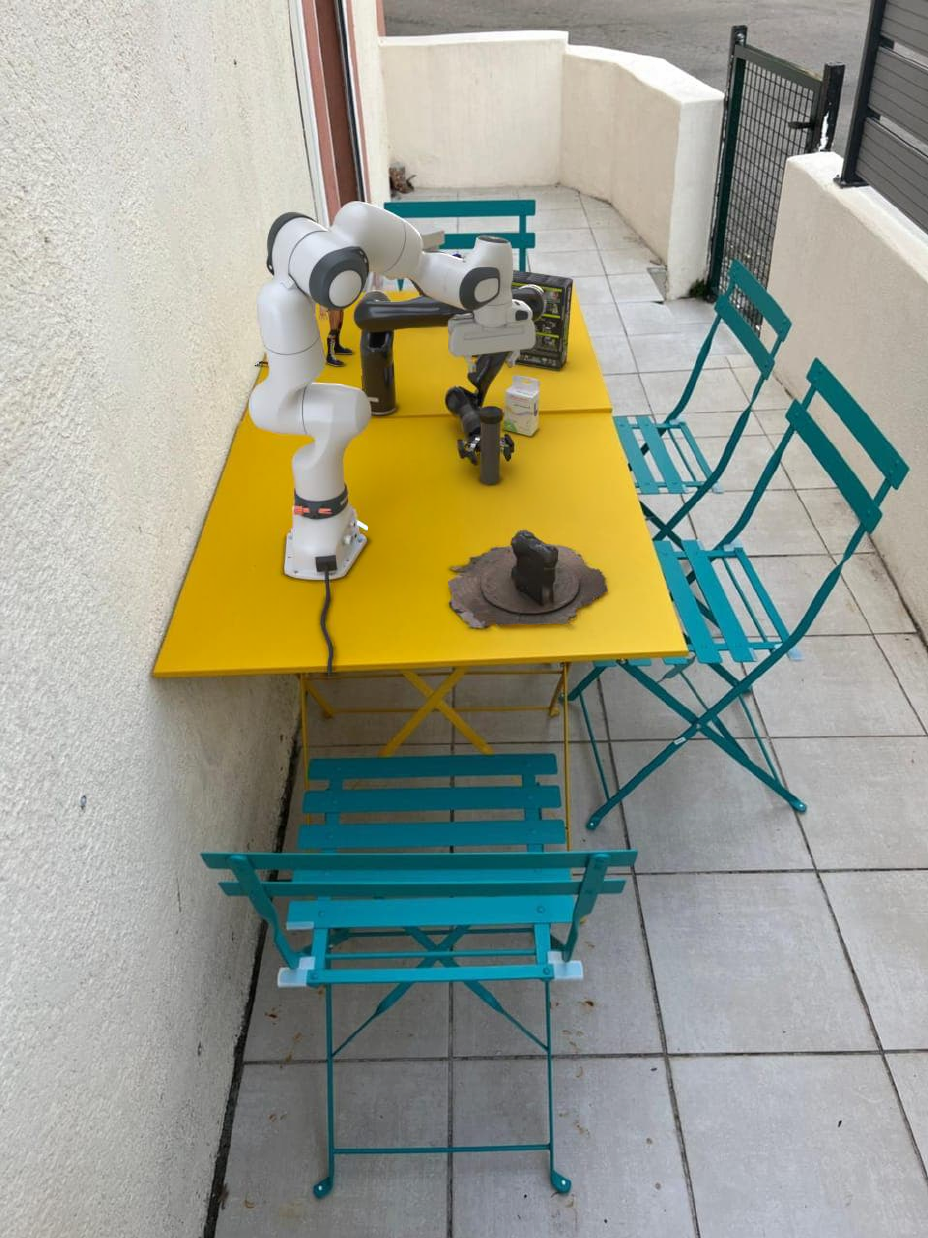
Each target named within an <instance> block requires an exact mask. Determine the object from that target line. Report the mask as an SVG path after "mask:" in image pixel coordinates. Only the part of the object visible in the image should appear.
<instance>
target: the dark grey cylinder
mask: <svg viewBox="0 0 928 1238" xmlns="http://www.w3.org/2000/svg"><path fill="white" fill-rule="evenodd" d="M501 426H502V421H501V422H499V423H497V424H485V423H483V422H481V453H480V482H481V483H482V484H483V485H486V486H494V485H497V484H498V483H499V482H500V475H501V474H500V472H501V453H500V437H501V433H502V432H501V431H502V430H501V429H502V428H501Z"/></svg>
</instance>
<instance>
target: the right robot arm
mask: <svg viewBox="0 0 928 1238" xmlns="http://www.w3.org/2000/svg"><path fill="white" fill-rule="evenodd" d="M511 293H512V299H514V300H519V301H523V302H524V303H525V304H527V305H528V306H529V308H530V309H531V311H532V313H533V315H532V319H531V320H532V321H533V323H534V322H536V321H537V320H538V319H540V318H541V316H542V315H543V314H544V312H545V310H546V306H547V299H546V295H545V293H544V291H543V290H542V289H541V288H540V287H538V286H536V285H525V286H522V287H521V288H519V289H515V290H511ZM469 313H473V311H469V310H464V309H461V308H458V307H455V306H452V305H450V304H447V303H444V302H441V301H438V300H435V299H431V298H427V297H424V296H422V295H421V296H415V297H412V298H410V299H406V300H400V301H399V300H398V301H391V298H390V297H389V296H388V295H387V294H386V293H385V292H384V291H381V290H378V289H372V290H369V291H367V292H365V293H364V294H362V296H361V298H360V299H359V301H358V303H357V304H356V305H355V307H354V309H353V314H352V317H353V322H354V324H355V326H356V327H357V328H358V329H359V330H361V331H360V332H361V333H360V339H359V354H360V355H359V356H360V365H361V376H360V379H361V380H360V381H361V389H362V390H363V391H364V393H365V394H366V395H367V397H368V399H369V401H370V405H371V416H386V415H387V416H388V415H391V414H393V413H394V412H396V411H397V408H398V403H397V390H396V389H397V388H396V375H395V374H396V373H395V359H394V340H395V331H399V330H406V329H434V328H448V321H449V320H450V319H451V318H452V317H454V316H455V315H463V314H469ZM453 320H454V319H453ZM511 352H512V351H505V352H496V353H487V354H480V355H479V356H477V358H476V359H475V361H473V363H475V365H476V372H473V373H470V372H469V371H468V372H467V374H466V378H467V380H468V381H469V383H470V384H471V385H472V386H474V387H475V390H474V392H472V391H471V390H469V389H467V388H465V387H463V386H462V385H454V386H451V387H450V388H448V389H447V390H446V393H445V396H444V405H445V408H446V409H447V411H448V412H449V413H450V414H451V416H452V417H454V418H455V419H456V420H457V421H458V423H459V426H460V428H461V432H462V435H463V436H464V439H465V440H464V441H463V439H461V438H458V439H457V440H456V449H457V452H458V456H459V459H461V460H464V459H466V458H467V459H468V461H469V462H470V464H471V465H473V466H474V467H475V466H478V457H477V455H479V453H480V454H481V421H480V420H479V410H480V409H481V408H483V407H484V402H485V400H486V397H487V394H488V392H489V389H490V387H491V385H492V383H493V382H494V380H496V378H497V376H498V374H500V371H501V370H502V368H503V367H504V365H505V364H506V363H507V361H506V360H507V358H508V357H509V355H510V353H511ZM258 362H259V364H257V366H259V365H267V366H269V365H268V361H263V360H260V361H258ZM515 444H516V443H515V441H514V440H513V438H512V437H511V435H509V434H508V433H504V434H503V436H500V455H501V454H502V455H503V457H504V459H505V461H506V462H511V460H512V454H514V453H515ZM466 447H467V449H466Z"/></svg>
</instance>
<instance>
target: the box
mask: <svg viewBox="0 0 928 1238" xmlns="http://www.w3.org/2000/svg"><path fill="white" fill-rule="evenodd" d="M525 285H536V286H538V287H540V288H541V289H542V290H543V291H544V293H545V295H546V299H547V306H546V310H545V312H544V314H543V315H542V316H541V318H540V319H538V320H537V321H536V322H534V325H535V335H536V341H535V345H534V346H533V347H532V348H530V349H522V350H520V354H519V356H518V358H517V359H516V361H515V364H517V365H525V366H531V367H538V368H544V369H547V370H554V371H560V370H561V369H562V367H563V366H564V365H565V363H566V362H567V360H568V359H567V358H568V346H569V345H568V344H569V336H570V335H569V334H570V323H571V322H570V321H571V309H572V308H571V307H572V299H573V285H574V278H570V277H566V276H559V275H552V274H547V273H545V274H544V273H540V272H539V273H538V272H532V271H525V270H517V269H513V281H512V284H511V290H515V289H519V288H521V287H522V286H525ZM512 353H513V352H511V353H510V355H509V357H508V358H507V359H509V358H510V357H511V355H512ZM479 355H480V354H479ZM479 355H472V357H478V356H479ZM506 362H507V360H506Z"/></svg>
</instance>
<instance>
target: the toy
mask: <svg viewBox="0 0 928 1238" xmlns="http://www.w3.org/2000/svg"><path fill="white" fill-rule="evenodd" d="M414 228H415V229H416V230H417V231H418V232H419V234H420V236H421V239H422V251H425V250H433V249H434V250H439V251H440V246H441V245H444V244H445V240H446V239H445V230H444V229H442V228H439V227H437V226H434V225H431V224H430V223H429V224H425V225H421V226H417V227H414ZM470 253H471V252H468V251H466V252H462V253H460V254H459V253H454V254H450V255H451V256H454V257H457V258H461V259H464V258H465V257H467V256H468V255H469V254H470ZM384 277H385V276H384ZM385 279H386V280H388V281H395V280H396V279H394V278H389V277H385ZM418 294H419V296H421V294H420V293H419V292H418Z"/></svg>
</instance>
